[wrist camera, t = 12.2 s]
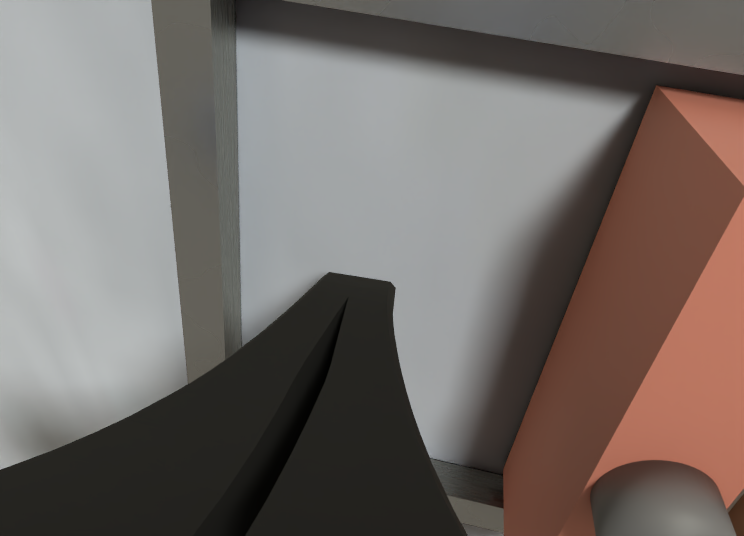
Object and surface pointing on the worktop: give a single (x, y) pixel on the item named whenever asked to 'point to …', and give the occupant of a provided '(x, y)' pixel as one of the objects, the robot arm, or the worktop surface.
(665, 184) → the free jaw
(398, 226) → the worktop surface
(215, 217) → the vise body
